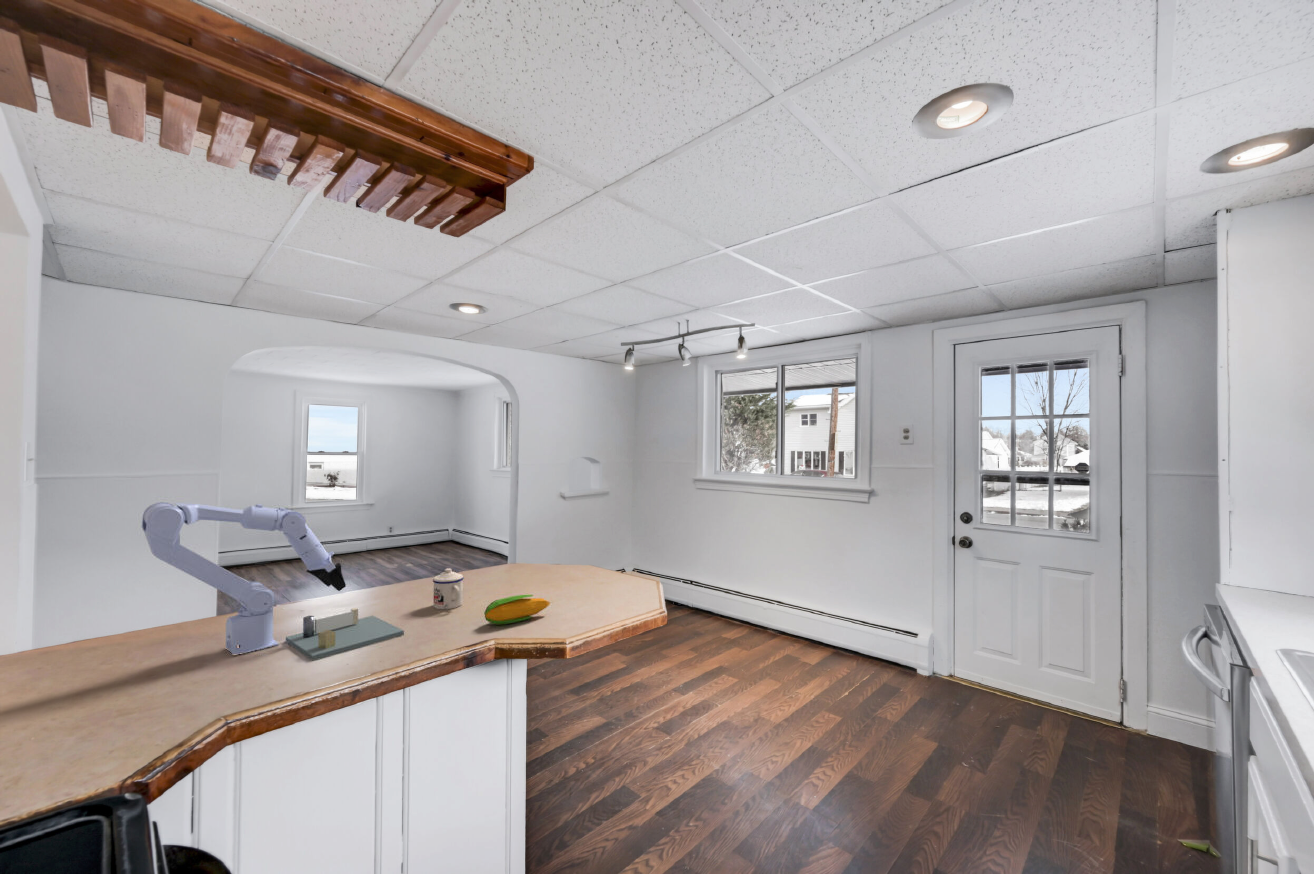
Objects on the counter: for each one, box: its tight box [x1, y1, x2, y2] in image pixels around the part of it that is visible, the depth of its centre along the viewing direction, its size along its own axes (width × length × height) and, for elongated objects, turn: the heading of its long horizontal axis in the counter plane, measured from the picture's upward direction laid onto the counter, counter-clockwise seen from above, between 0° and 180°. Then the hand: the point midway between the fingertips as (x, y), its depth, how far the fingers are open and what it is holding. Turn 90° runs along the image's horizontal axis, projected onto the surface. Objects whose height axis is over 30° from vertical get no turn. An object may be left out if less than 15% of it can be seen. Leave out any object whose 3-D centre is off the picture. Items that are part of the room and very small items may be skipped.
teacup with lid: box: [432, 568, 464, 610], centre depth 172 cm, size 12×9×12 cm
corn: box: [483, 594, 551, 626], centre depth 159 cm, size 7×8×20 cm
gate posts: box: [302, 615, 335, 649], centre depth 139 cm, size 3×14×5 cm, turn 51°
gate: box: [314, 607, 359, 633], centre depth 148 cm, size 10×1×4 cm, turn 141°
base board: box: [285, 615, 405, 662], centre depth 145 cm, size 22×19×1 cm
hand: (336, 586), depth 153 cm, fingers open, 7 cm apart
